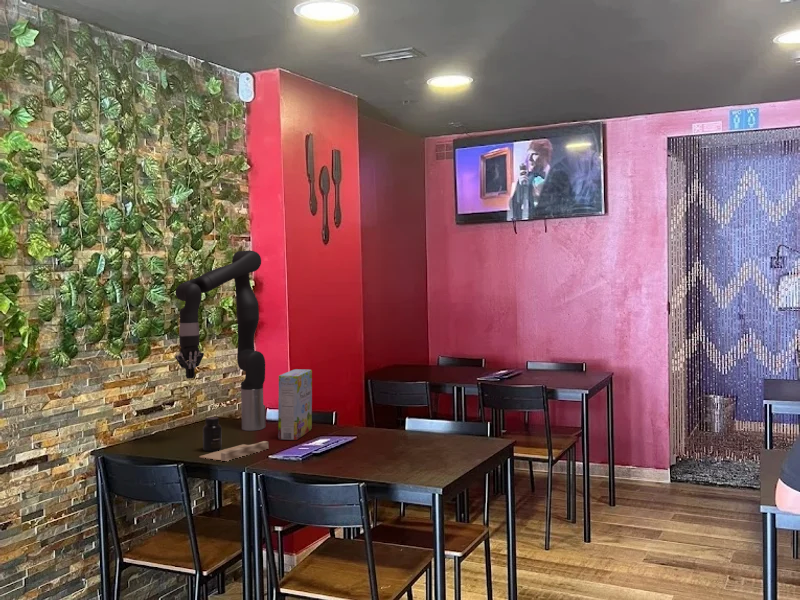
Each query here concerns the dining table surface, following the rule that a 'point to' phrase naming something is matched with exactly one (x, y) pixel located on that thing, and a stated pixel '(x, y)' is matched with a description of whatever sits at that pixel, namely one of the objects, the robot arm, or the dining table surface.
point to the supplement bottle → (212, 435)
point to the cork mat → (219, 453)
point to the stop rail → (244, 451)
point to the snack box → (295, 404)
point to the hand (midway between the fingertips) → (190, 378)
